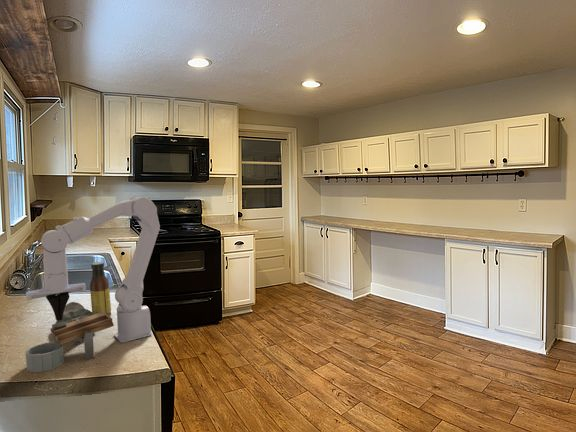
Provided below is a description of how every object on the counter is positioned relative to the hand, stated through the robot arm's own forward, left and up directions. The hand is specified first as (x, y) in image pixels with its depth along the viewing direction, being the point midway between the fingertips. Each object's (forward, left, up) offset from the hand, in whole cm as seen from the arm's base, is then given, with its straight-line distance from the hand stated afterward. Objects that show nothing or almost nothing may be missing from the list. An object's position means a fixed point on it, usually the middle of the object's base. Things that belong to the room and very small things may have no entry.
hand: (59, 319), depth 113 cm
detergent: (-8, -19, -10) cm, 23 cm away
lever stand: (-5, +3, -10) cm, 11 cm away
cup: (+5, +6, -10) cm, 13 cm away
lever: (-5, +3, -2) cm, 7 cm away
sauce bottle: (-17, -24, -10) cm, 31 cm away
